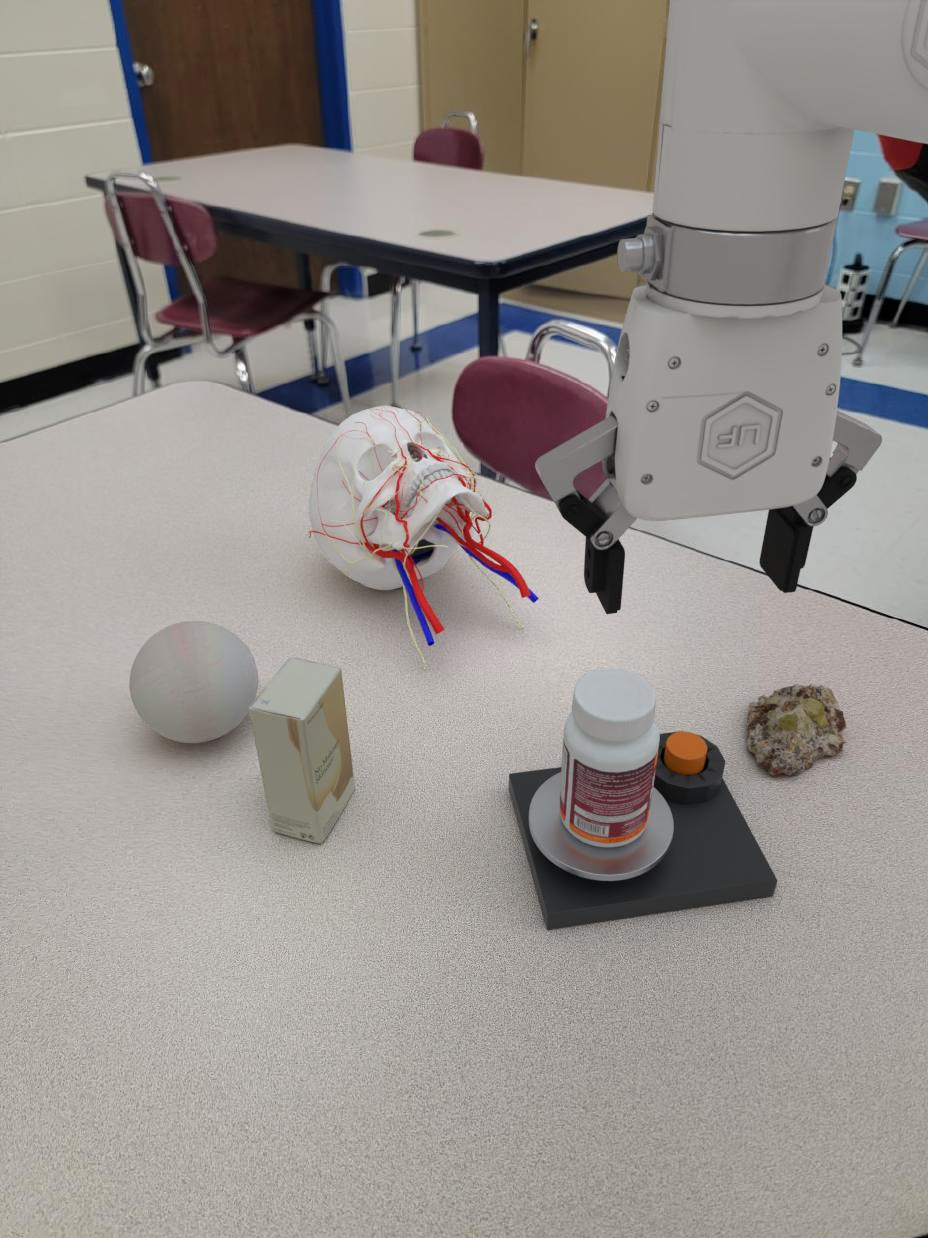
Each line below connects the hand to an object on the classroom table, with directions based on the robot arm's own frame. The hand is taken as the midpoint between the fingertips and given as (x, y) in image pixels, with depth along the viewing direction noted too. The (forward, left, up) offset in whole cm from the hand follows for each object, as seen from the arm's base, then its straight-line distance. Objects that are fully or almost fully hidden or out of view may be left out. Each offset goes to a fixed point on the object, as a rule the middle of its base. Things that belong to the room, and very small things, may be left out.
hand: (691, 589), depth 49 cm
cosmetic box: (+23, -11, -25) cm, 35 cm away
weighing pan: (+3, -3, -21) cm, 22 cm away
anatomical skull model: (+12, -38, -25) cm, 47 cm away
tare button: (-5, -8, -22) cm, 23 cm away
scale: (0, -4, -25) cm, 25 cm away
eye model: (+32, -22, -25) cm, 46 cm away
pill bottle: (+3, -3, -21) cm, 21 cm away
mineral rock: (-16, -12, -25) cm, 32 cm away
